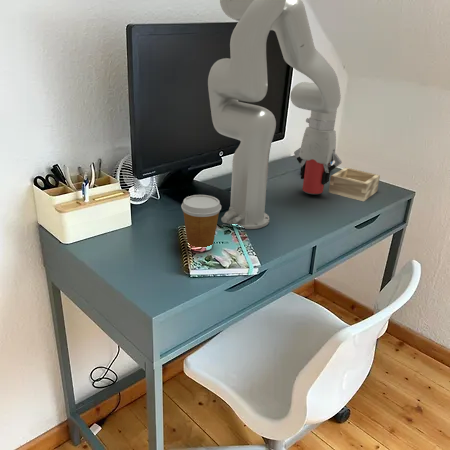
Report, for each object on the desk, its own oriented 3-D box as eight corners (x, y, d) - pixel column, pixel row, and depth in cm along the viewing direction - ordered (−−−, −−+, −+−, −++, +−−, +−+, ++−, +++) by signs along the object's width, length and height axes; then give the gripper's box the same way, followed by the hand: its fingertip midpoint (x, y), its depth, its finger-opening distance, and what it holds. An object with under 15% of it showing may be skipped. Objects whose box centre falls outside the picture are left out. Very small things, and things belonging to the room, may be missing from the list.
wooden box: (363, 202, 156) (366, 184, 154) (328, 193, 162) (330, 175, 160) (376, 192, 165) (380, 175, 163) (343, 184, 171) (345, 167, 169)
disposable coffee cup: (194, 234, 128) (195, 191, 123) (226, 244, 124) (229, 199, 119) (173, 248, 121) (173, 202, 116) (206, 259, 117) (207, 212, 112)
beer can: (324, 195, 156) (330, 158, 151) (303, 194, 156) (308, 157, 151) (321, 188, 162) (326, 153, 157) (300, 187, 162) (305, 151, 157)
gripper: (290, 121, 152) (284, 177, 159) (343, 131, 143) (334, 190, 150) (301, 118, 158) (295, 172, 165) (353, 128, 149) (344, 184, 156)
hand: (314, 180), depth 157 cm, fingers closed on beer can, 6 cm apart
